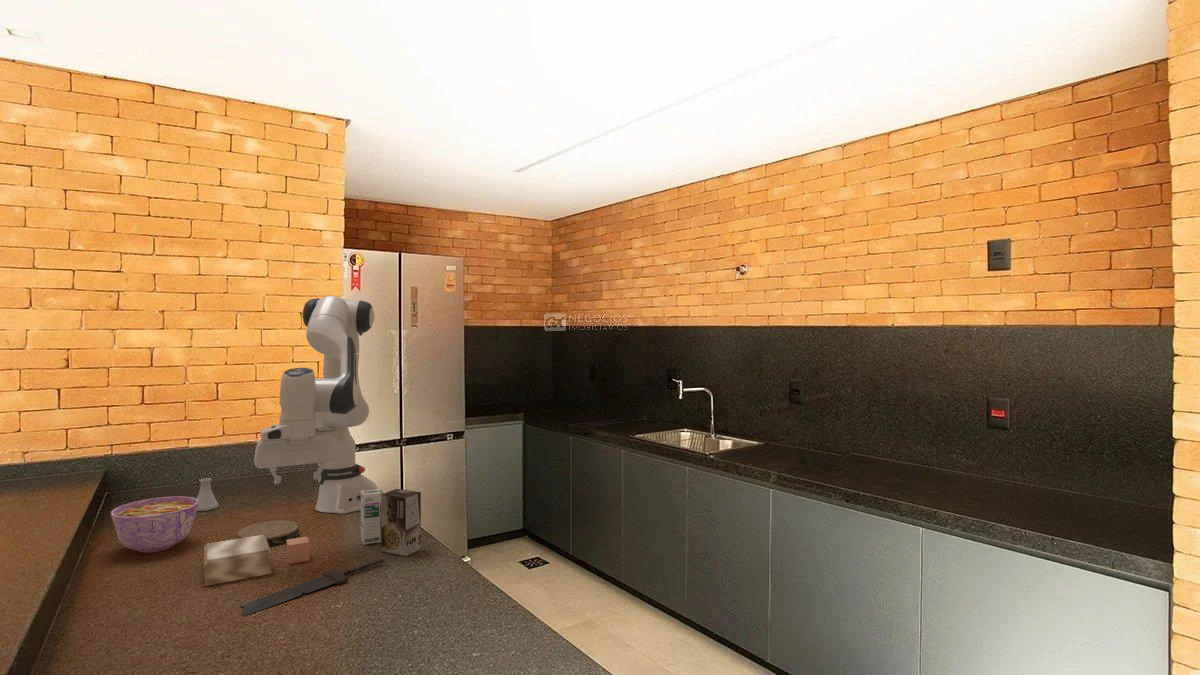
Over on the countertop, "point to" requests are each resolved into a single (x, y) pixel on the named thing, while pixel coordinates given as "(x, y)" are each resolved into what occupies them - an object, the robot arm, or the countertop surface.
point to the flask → (206, 496)
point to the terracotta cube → (297, 550)
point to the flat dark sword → (301, 589)
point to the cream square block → (236, 559)
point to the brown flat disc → (272, 531)
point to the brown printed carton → (401, 522)
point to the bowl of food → (154, 522)
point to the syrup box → (371, 516)
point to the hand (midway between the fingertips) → (297, 481)
